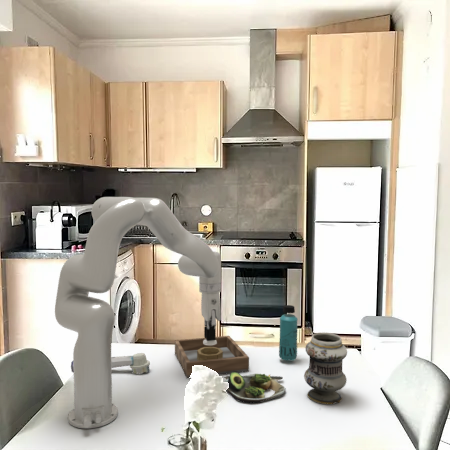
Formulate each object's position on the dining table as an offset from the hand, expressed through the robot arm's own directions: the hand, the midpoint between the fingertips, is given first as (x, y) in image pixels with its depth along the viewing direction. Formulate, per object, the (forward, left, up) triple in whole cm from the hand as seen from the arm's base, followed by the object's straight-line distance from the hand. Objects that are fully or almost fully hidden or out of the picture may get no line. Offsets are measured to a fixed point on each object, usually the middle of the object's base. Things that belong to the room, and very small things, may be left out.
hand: (209, 338), depth 153 cm
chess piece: (0, 0, -2) cm, 2 cm away
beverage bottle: (-7, -27, -9) cm, 29 cm away
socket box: (0, 0, -9) cm, 9 cm away
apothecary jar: (-35, -26, -9) cm, 44 cm away
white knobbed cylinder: (+1, +34, -9) cm, 35 cm away
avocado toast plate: (-24, -7, -9) cm, 27 cm away
